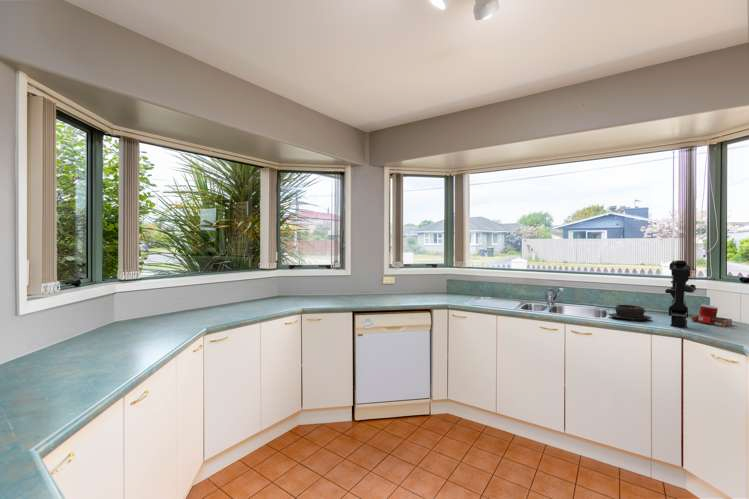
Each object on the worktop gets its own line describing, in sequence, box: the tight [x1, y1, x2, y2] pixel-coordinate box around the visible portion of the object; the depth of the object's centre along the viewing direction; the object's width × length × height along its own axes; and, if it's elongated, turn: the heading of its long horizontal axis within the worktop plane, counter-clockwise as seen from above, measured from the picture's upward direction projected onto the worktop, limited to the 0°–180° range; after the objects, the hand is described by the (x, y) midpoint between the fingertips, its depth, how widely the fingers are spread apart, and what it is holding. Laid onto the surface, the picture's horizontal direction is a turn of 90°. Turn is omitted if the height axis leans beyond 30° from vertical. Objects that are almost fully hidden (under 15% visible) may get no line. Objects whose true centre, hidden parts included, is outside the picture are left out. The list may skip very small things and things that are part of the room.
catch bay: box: [691, 314, 733, 328], centre depth 223 cm, size 12×16×4 cm
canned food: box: [697, 304, 719, 325], centre depth 222 cm, size 8×8×11 cm
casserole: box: [608, 304, 653, 321], centre depth 236 cm, size 25×19×8 cm
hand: (677, 303), depth 226 cm, fingers closed
